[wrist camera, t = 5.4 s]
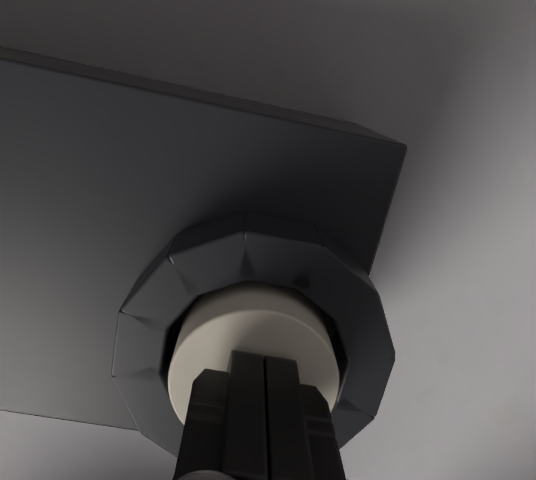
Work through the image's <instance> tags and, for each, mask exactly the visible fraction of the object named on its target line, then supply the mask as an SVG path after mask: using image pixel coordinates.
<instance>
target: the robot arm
mask: <svg viewBox="0 0 536 480" xmlns="http://www.w3.org/2000/svg"><path fill="white" fill-rule="evenodd" d="M172 480H346V477H345V473H344V469H343V465H342V460H341V456H340V452H339V447H338V443H337V439H336V438H335V430H334V426H333V423H332V417H331V413H330V409H329V405H328V402H327V400H326V399H325V398H324V396H323V395H322V394H321V393H320V391H319V390H318V389H317V387H316V386H312V385H306V384H300V380H299V374H298V367H297V362H296V360H291V359H285V358H279V357H273V356H267V355H265V356H264V358H263V355H260V354H254V353H248V352H242V351H236V350H231V354H230V358H229V362H228V367H227V372H225V371H218V370H212V369H206V368H205V369H204V370H203V371H202V372H201V373H200V374H199V375H198V376H197V378H196V379H195V380H194V381H193V384H192V389H191V394H190V399H189V404H188V409H187V414H186V419H185V424H184V429H183V434H182V439H181V444H180V449H179V454H178V459H177V464H176V469H175V473H174V477H173V479H172Z"/></svg>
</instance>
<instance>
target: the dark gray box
mask: <svg viewBox="0 0 536 480" xmlns="http://www.w3.org/2000/svg"><path fill="white" fill-rule="evenodd" d="M406 151H407V146H406V145H405V144H403V143H400V142H398V141H396V140H393V139H391V138H389V137H386V136H384V135H381V134H379V133H377V132H374V131H372V130H369V129H367V128H365V127H362V126H360V125H358V124H355V123H350V122H346V121H341V120H336V119H332V118H327V117H323V116H318V115H314V114H309V113H304V112H300V111H295V110H291V109H286V108H281V107H277V106H272V105H268V104H263V103H259V102H254V101H249V100H245V99H240V98H236V97H231V96H226V95H222V94H217V93H213V92H208V91H204V90H199V89H194V88H190V87H185V86H181V85H176V84H171V83H167V82H162V81H158V80H153V79H149V78H144V77H139V76H135V75H130V74H126V73H121V72H117V71H112V70H107V69H103V68H98V67H94V66H89V65H84V64H80V63H75V62H71V61H66V60H62V59H57V58H52V57H48V56H43V55H39V54H34V53H29V52H25V51H20V50H16V49H11V48H7V47H2V46H0V410H2V411H8V412H15V413H22V414H29V415H35V416H42V417H49V418H56V419H62V420H69V421H76V422H83V423H90V424H96V425H103V426H110V427H117V428H123V429H130V430H137V431H139V432H141V433H142V435H144V436H145V437H147V438H148V439H150V440H152V441H153V442H155V443H156V444H158V445H159V446H161V447H162V448H164V449H165V450H167V451H168V452H170V453H171V454H173V455H174V456H176V457H177V458H178V454H179V449H180V444H181V439H182V434H183V429H184V425H183V423H182V422H181V421H180V419H179V418H178V416H177V414H176V412H175V411H174V408H173V406H172V403H171V401H170V396H169V392H168V372H169V368H170V364H171V360H172V357H173V353H174V350H175V347H176V343H177V340H178V336H179V333H180V330H181V326H182V323H183V320H184V318H185V315H186V313H187V311H188V310H189V308H190V306H191V305H192V304H193V302H194V301H195V300H196V299H197V298H198V297H199V296H200V295H201V294H204V293H208V292H211V291H214V290H217V289H220V288H223V287H227V286H230V285H233V284H236V283H239V282H243V281H246V280H251V281H257V282H262V283H268V284H273V285H279V286H284V287H290V288H295V289H298V290H299V291H300V292H301V293H303V294H304V295H305V296H306V297H307V298H309V299H310V300H311V301H312V302H313V303H315V304H316V305H317V307H318V308H319V310H320V312H321V314H322V316H323V319H324V321H325V324H326V328H327V331H328V335H329V338H330V341H331V345H332V348H333V351H334V355H335V358H336V362H337V366H338V370H339V391H338V395H337V399H336V402H335V405H334V407H333V409H332V411H331V417H332V423H333V426H334V430H335V438H336V439H337V443H338V447H339V449H340V448H341V447H343V446H344V445H345V444H346V443H347V442H348V441H349V440H351V439H352V438H353V437H354V436H355V435H356V434H357V433H359V432H360V431H361V430H362V429H363V428H364V427H366V426H367V425H368V424H369V423H370V422H371V421H372V420H373V419H374V416H376V414H377V411H378V408H379V406H380V403H381V400H382V397H383V394H384V391H385V388H386V385H387V382H388V379H389V376H390V373H391V370H392V367H393V365H394V362H395V350H394V347H393V343H392V339H391V336H390V332H389V328H388V325H387V321H386V317H385V314H384V310H383V306H382V303H381V299H380V296H379V294H378V292H377V290H376V288H375V287H374V285H373V283H372V282H371V280H370V278H369V274H370V271H371V267H372V264H373V261H374V258H375V254H376V251H377V248H378V244H379V241H380V238H381V234H382V231H383V228H384V224H385V221H386V218H387V214H388V211H389V208H390V204H391V201H392V198H393V195H394V191H395V188H396V185H397V181H398V178H399V175H400V171H401V168H402V165H403V161H404V158H405V155H406Z"/></svg>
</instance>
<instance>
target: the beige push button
mask: <svg viewBox="0 0 536 480" xmlns="http://www.w3.org/2000/svg"><path fill="white" fill-rule="evenodd" d="M231 350H236V351H242V352H248V353H254V354H260V355H263V358H264V356H265V355H267V356H273V357H279V358H285V359H291V360H296V362H297V367H298V374H299V380H300V384H306V385H312V386H316V387H317V389H318V390H319V391H320V393H321V394H322V395H323V396H324V398H325V399H326V400H327V402H328V405H329V409H330V413H331V411H332V409H333V407H334V405H335V402H336V399H337V395H338V391H339V370H338V366H337V362H336V358H335V355H334V351H333V348H332V345H331V341H330V338H329V335H328V331H327V328H326V324H325V321H324V319H323V316H322V314H321V312H320V310H319V308H318V307H317V305H316V304H315V303H313V302H312V301H311V300H310V299H309V298H307V297H306V296H305V295H304V294H303V293H301V292H300V291H299V290H298V289H295V288H290V287H284V286H279V285H273V284H268V283H262V282H257V281H251V280H246V281H243V282H239V283H236V284H233V285H230V286H227V287H223V288H220V289H217V290H214V291H211V292H208V293H204V294H201V295H200V296H199V297H198V298H197V299H196V300H195V301H194V302H193V304H192V305H191V306H190V308H189V310H188V311H187V313H186V315H185V318H184V320H183V323H182V326H181V330H180V333H179V336H178V340H177V343H176V347H175V350H174V353H173V357H172V360H171V364H170V368H169V372H168V392H169V396H170V401H171V403H172V406H173V408H174V411H175V412H176V414H177V416H178V418H179V419H180V421H181V422H182V423H183V425H184V424H185V419H186V414H187V409H188V404H189V399H190V394H191V389H192V384H193V381H194V380H195V379H196V378H197V376H198V375H199V374H200V373H201V372H202V371H203V370H204V369H205V368H206V369H212V370H218V371H225V372H227V367H228V362H229V358H230V354H231Z"/></svg>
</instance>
